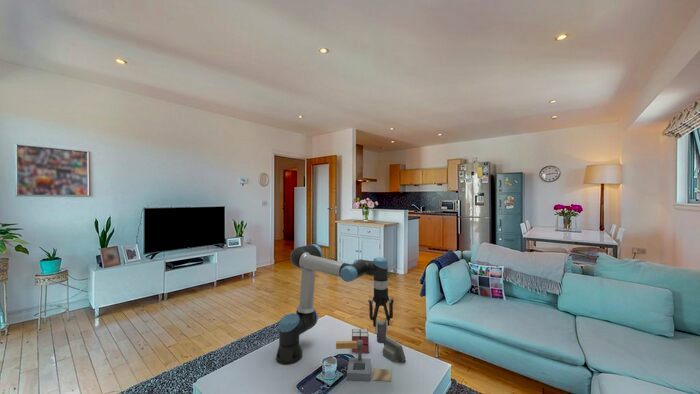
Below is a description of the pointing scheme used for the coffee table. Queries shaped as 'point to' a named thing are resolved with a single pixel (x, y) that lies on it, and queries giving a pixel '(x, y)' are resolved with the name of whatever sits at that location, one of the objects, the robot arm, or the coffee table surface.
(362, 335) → the puzzle cube
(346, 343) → the wooden handle
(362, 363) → the socket
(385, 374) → the coaster
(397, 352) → the digital clock
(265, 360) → the coffee table surface
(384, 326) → the plug
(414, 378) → the coffee table surface
